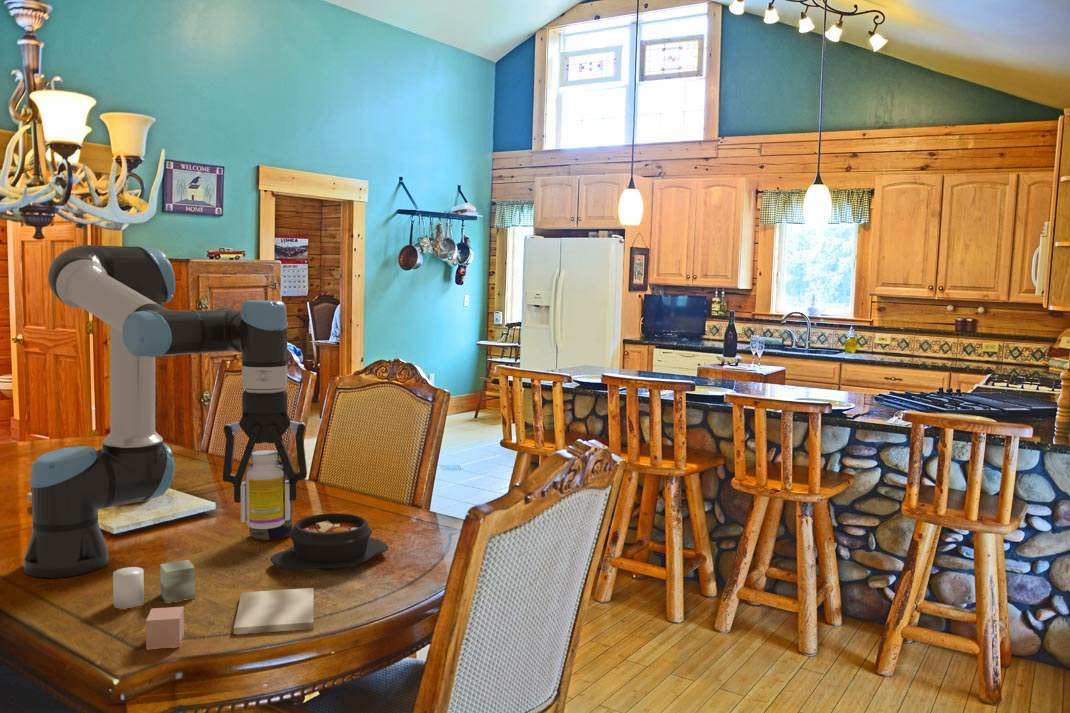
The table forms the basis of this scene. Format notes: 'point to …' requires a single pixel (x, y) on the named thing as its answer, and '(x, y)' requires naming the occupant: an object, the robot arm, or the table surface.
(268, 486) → the supplement bottle
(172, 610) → the terracotta block
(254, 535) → the canister
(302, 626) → the birch board
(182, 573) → the sage block
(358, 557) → the casserole
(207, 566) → the table surface
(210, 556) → the table surface
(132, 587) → the white domed cylinder
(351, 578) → the table surface
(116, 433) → the robot arm
